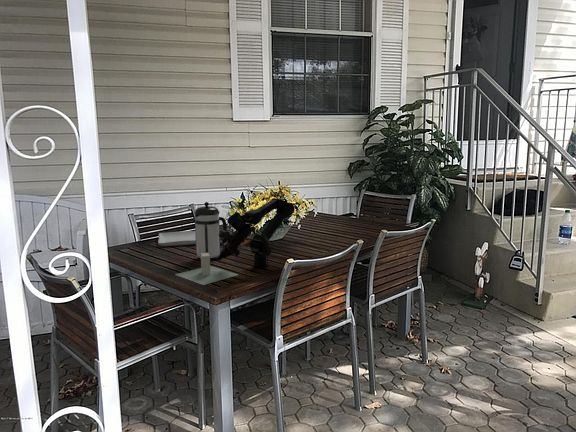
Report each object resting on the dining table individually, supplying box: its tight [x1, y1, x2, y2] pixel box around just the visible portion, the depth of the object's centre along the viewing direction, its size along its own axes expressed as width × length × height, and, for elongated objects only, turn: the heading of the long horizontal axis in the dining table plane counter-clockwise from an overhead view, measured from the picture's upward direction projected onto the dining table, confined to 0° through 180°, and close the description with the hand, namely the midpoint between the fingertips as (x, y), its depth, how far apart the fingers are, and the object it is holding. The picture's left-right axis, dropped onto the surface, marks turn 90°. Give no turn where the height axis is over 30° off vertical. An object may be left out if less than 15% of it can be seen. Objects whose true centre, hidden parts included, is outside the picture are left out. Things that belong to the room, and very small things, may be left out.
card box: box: [200, 253, 211, 275], centre depth 214 cm, size 4×6×9 cm, turn 17°
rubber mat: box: [174, 265, 239, 286], centre depth 212 cm, size 20×22×1 cm
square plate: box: [157, 230, 196, 247], centre depth 281 cm, size 27×27×4 cm
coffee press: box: [193, 201, 228, 260], centre depth 240 cm, size 17×16×30 cm
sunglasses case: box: [238, 237, 252, 248], centre depth 275 cm, size 18×7×7 cm
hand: (218, 259), depth 215 cm, fingers closed
